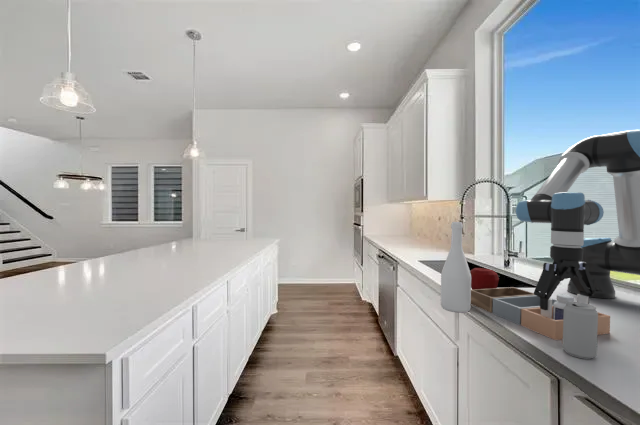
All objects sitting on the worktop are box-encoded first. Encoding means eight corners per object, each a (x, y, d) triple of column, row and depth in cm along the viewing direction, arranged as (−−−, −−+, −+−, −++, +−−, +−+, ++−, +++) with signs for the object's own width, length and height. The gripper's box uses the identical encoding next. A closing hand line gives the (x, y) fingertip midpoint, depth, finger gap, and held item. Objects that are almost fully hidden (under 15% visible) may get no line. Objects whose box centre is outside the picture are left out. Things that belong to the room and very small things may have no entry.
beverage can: (555, 348, 80) (557, 300, 80) (579, 347, 80) (581, 300, 80) (578, 360, 73) (580, 309, 73) (604, 360, 74) (605, 308, 74)
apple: (504, 299, 123) (505, 268, 122) (479, 300, 121) (480, 269, 121) (485, 291, 133) (486, 263, 133) (462, 292, 132) (462, 264, 132)
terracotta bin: (571, 320, 100) (571, 304, 100) (609, 333, 90) (610, 315, 90) (521, 325, 95) (521, 308, 95) (555, 340, 85) (555, 321, 85)
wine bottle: (472, 315, 104) (474, 223, 103) (441, 311, 107) (442, 222, 106) (468, 306, 113) (470, 221, 112) (440, 303, 116) (441, 221, 115)
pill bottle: (580, 333, 89) (581, 299, 89) (558, 332, 90) (559, 297, 90) (569, 326, 95) (570, 294, 95) (549, 325, 96) (550, 292, 96)
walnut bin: (512, 300, 121) (513, 287, 121) (538, 308, 111) (538, 294, 111) (469, 303, 116) (469, 289, 116) (491, 312, 106) (491, 298, 106)
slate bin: (539, 309, 111) (539, 294, 111) (570, 319, 100) (570, 304, 100) (492, 313, 106) (492, 298, 106) (519, 325, 96) (520, 308, 95)
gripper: (585, 243, 99) (583, 311, 99) (520, 245, 93) (518, 317, 93) (613, 246, 92) (610, 320, 92) (544, 248, 85) (542, 327, 86)
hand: (564, 319), depth 92 cm, fingers open, 13 cm apart
